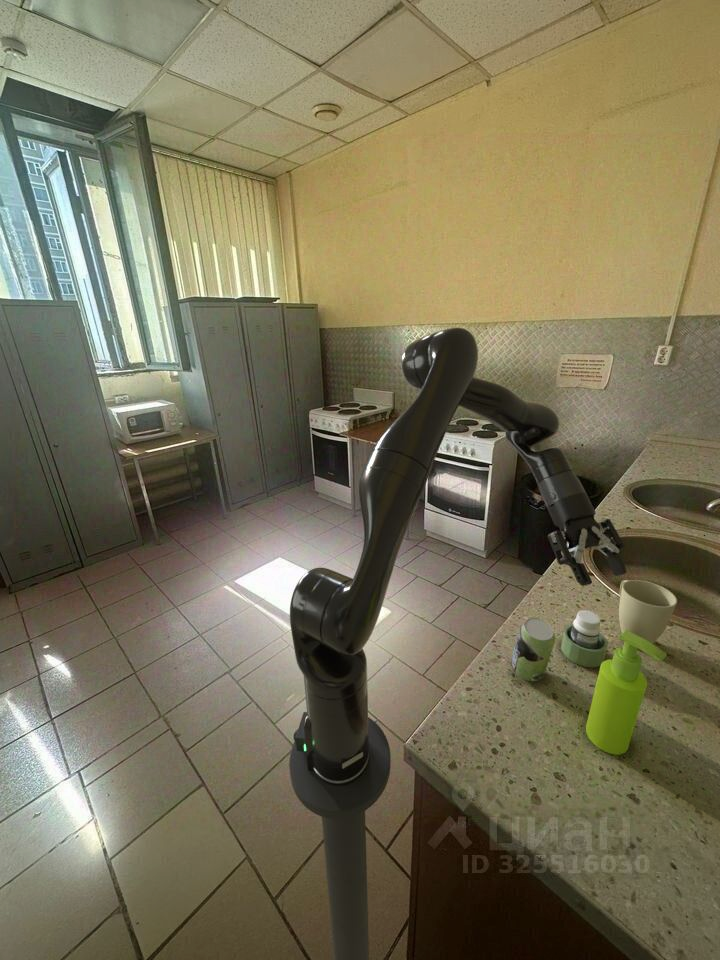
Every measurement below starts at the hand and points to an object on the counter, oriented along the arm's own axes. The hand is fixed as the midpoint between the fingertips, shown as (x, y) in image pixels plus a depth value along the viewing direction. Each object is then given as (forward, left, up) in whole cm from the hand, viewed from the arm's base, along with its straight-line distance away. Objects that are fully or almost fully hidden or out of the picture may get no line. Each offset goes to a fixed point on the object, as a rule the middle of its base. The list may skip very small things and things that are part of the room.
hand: (604, 579), depth 72 cm
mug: (+12, +8, -19) cm, 23 cm away
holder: (0, +2, -19) cm, 19 cm away
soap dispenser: (-3, -17, -19) cm, 26 cm away
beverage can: (-12, -5, -19) cm, 23 cm away
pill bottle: (0, +2, -18) cm, 18 cm away
